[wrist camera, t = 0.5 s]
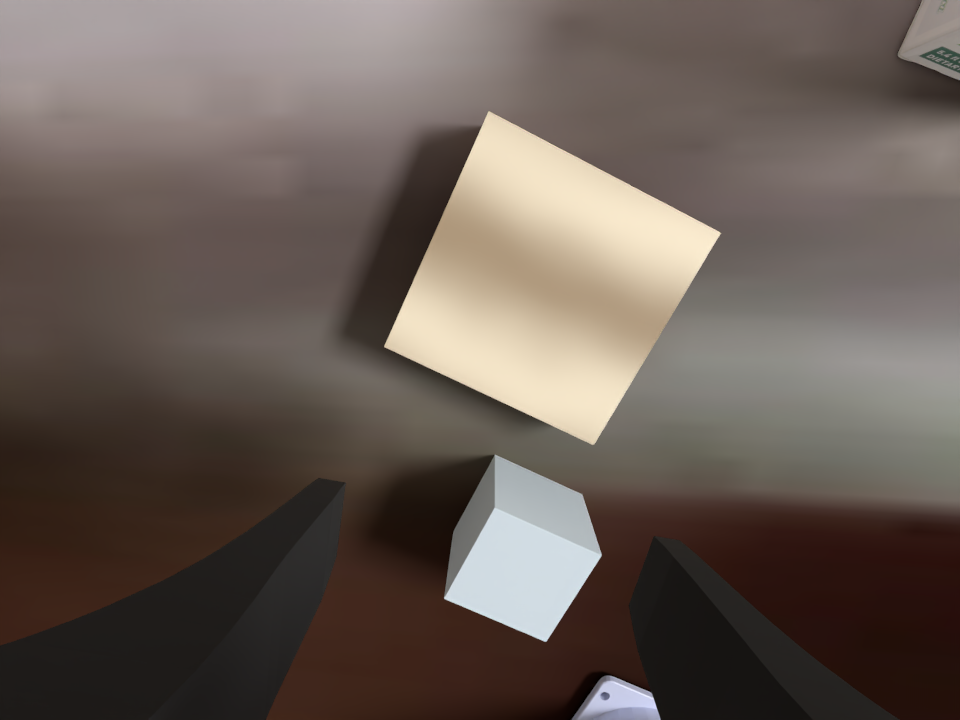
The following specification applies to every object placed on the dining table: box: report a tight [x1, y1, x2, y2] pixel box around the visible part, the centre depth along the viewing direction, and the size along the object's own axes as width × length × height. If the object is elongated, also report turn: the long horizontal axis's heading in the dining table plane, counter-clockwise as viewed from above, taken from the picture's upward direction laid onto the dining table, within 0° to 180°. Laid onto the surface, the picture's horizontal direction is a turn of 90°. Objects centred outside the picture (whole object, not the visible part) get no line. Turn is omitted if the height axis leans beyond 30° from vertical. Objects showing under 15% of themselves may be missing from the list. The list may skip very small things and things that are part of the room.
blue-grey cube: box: [444, 455, 602, 642], centre depth 22 cm, size 4×4×4 cm
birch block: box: [384, 112, 720, 445], centre depth 20 cm, size 9×9×3 cm
